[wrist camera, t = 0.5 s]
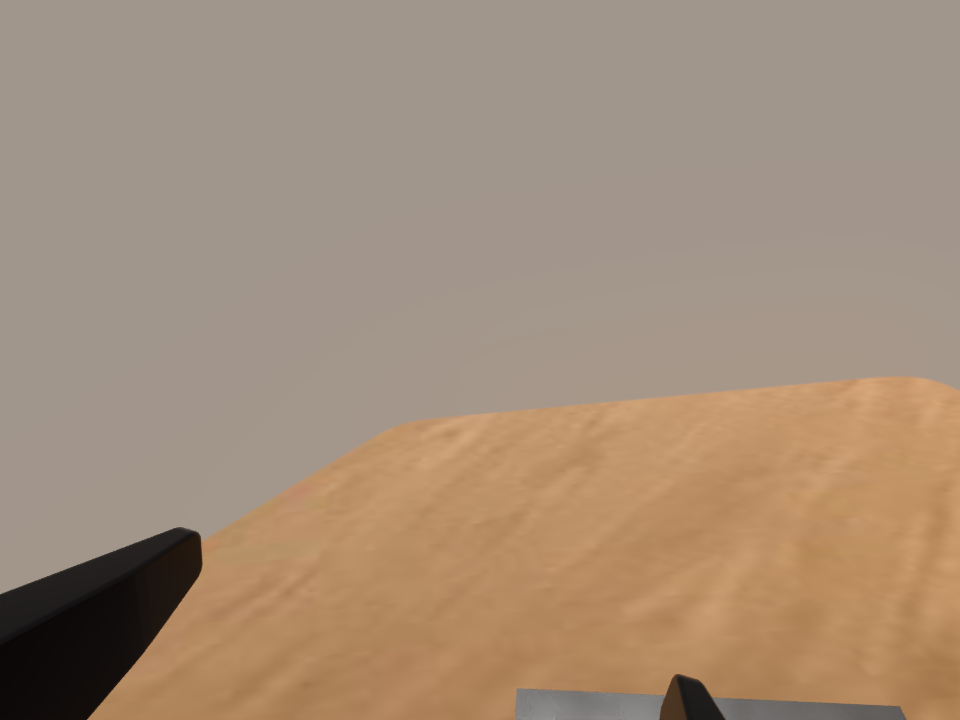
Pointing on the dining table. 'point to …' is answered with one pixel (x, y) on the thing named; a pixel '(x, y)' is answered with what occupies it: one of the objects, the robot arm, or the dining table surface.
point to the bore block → (636, 716)
